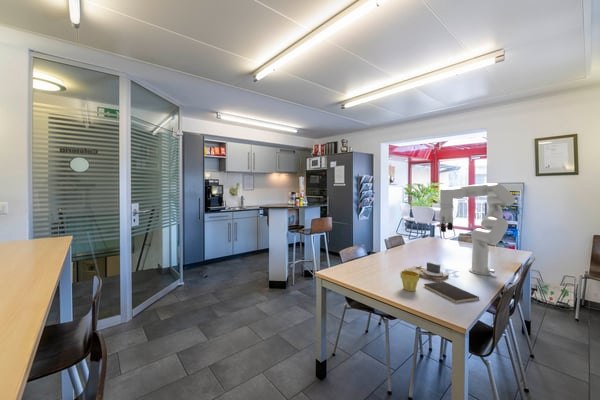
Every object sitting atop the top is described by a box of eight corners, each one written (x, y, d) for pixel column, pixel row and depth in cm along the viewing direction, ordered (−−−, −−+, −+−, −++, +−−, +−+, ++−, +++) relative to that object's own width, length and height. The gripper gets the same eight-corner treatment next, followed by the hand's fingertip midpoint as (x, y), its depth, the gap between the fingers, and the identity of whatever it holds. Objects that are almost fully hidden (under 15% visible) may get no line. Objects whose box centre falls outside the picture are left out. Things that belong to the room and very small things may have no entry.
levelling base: (448, 277, 171) (448, 272, 171) (439, 282, 162) (439, 276, 162) (414, 268, 190) (414, 263, 190) (404, 272, 181) (404, 267, 181)
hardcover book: (455, 304, 133) (455, 299, 133) (423, 287, 155) (423, 283, 155) (479, 300, 137) (479, 296, 137) (444, 285, 159) (444, 281, 159)
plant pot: (397, 285, 156) (397, 270, 156) (414, 285, 156) (414, 270, 155) (403, 292, 146) (404, 275, 145) (422, 292, 146) (422, 276, 145)
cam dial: (446, 274, 171) (446, 264, 170) (438, 278, 164) (438, 267, 163) (424, 268, 183) (424, 259, 182) (415, 271, 176) (416, 261, 175)
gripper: (446, 205, 182) (446, 228, 183) (434, 207, 172) (435, 231, 173) (458, 205, 176) (458, 229, 177) (446, 207, 166) (446, 233, 167)
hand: (446, 230), depth 175 cm, fingers open, 9 cm apart
